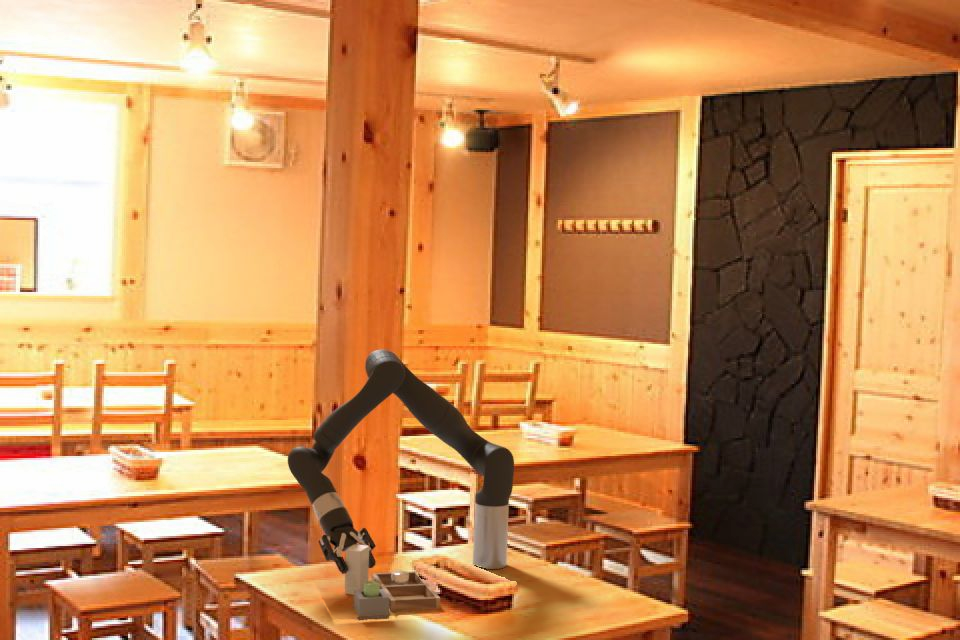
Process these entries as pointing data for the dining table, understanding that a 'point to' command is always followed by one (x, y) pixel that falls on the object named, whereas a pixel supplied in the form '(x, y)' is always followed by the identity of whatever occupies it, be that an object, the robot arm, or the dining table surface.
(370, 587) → the button
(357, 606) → the grey square open box
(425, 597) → the tray
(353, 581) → the skincare box
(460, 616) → the dining table surface
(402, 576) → the beige rounded cylinder
